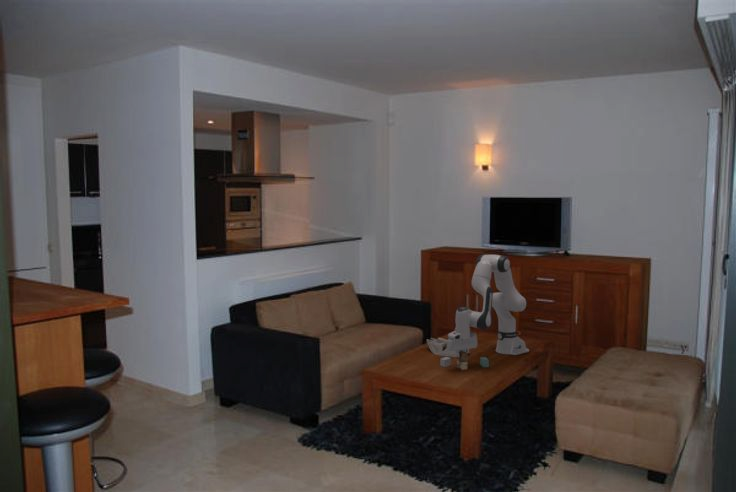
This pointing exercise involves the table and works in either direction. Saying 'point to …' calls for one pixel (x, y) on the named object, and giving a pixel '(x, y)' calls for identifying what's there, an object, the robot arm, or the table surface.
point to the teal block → (484, 362)
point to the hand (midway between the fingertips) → (462, 356)
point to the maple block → (462, 364)
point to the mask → (441, 348)
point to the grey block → (445, 361)
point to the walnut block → (463, 356)
